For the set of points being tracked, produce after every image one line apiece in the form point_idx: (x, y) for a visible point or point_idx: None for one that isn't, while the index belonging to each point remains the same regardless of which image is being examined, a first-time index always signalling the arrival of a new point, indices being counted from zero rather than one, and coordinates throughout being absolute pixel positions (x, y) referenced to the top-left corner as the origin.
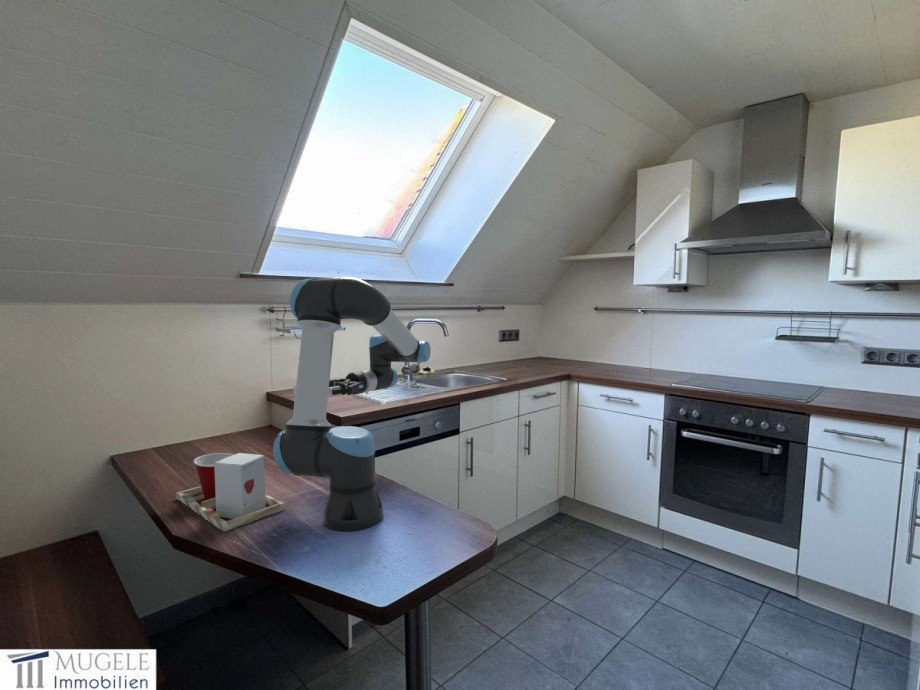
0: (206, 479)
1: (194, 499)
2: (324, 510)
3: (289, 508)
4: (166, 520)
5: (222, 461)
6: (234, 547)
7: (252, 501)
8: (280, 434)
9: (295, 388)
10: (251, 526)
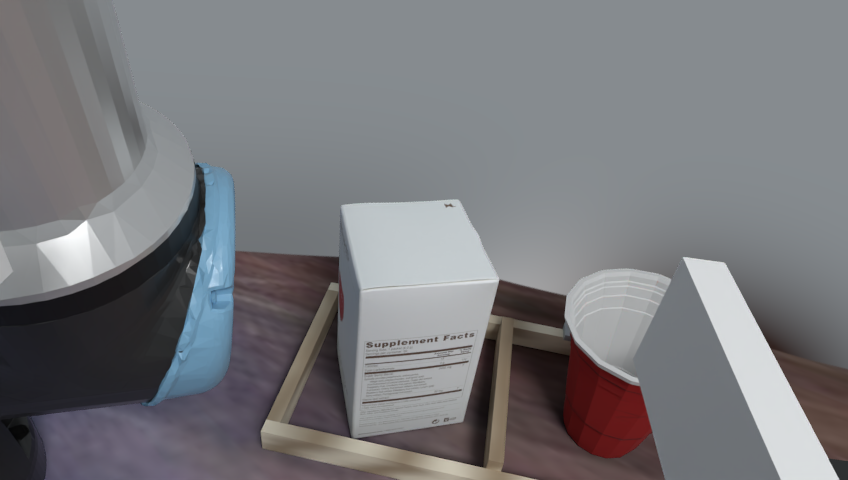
0: (591, 328)
1: (564, 333)
2: (26, 419)
3: (253, 468)
4: (533, 291)
5: (440, 207)
6: (237, 266)
7: (341, 350)
8: (205, 163)
9: (665, 304)
10: (282, 337)
